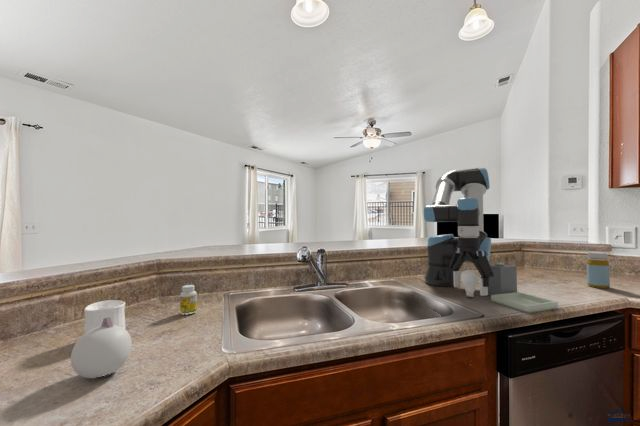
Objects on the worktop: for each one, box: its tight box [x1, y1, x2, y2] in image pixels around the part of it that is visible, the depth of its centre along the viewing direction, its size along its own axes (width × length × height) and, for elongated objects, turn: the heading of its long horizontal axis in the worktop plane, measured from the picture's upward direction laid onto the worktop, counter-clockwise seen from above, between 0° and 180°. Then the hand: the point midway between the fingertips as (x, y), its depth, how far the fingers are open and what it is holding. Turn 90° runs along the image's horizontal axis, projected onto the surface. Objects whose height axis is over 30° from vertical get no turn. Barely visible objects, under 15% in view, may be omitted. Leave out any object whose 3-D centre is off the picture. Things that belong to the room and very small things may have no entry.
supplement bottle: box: [179, 284, 198, 313], centre depth 100 cm, size 5×5×10 cm
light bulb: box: [460, 269, 480, 299], centre depth 112 cm, size 7×7×11 cm
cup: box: [83, 299, 126, 335], centre depth 79 cm, size 10×10×10 cm
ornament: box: [70, 317, 133, 379], centre depth 61 cm, size 10×10×12 cm
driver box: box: [484, 261, 518, 296], centre depth 115 cm, size 8×8×13 cm
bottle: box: [586, 251, 611, 289], centre depth 124 cm, size 7×7×15 cm
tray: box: [490, 291, 559, 314], centre depth 102 cm, size 14×14×2 cm
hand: (469, 290), depth 111 cm, fingers open, 13 cm apart
